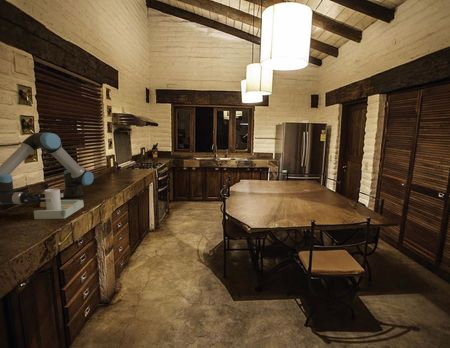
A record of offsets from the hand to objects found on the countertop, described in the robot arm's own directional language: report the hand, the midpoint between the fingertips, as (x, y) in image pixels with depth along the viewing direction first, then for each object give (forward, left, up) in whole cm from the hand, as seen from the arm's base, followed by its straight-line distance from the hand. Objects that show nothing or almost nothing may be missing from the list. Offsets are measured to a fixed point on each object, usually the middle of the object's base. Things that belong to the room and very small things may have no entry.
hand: (57, 197), depth 170 cm
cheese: (-13, -29, -12) cm, 34 cm away
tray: (-5, -5, -12) cm, 14 cm away
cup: (+2, -3, -11) cm, 11 cm away
